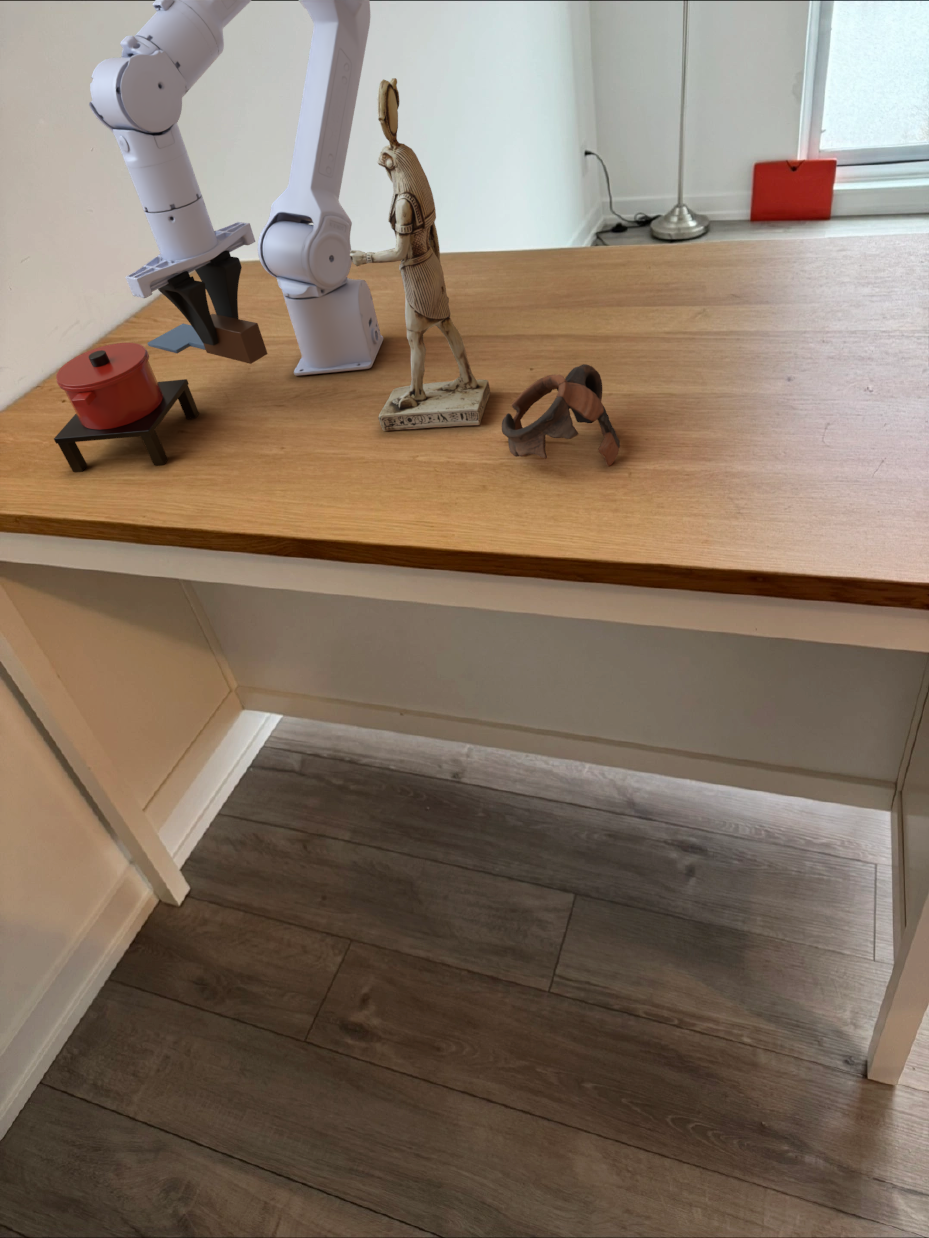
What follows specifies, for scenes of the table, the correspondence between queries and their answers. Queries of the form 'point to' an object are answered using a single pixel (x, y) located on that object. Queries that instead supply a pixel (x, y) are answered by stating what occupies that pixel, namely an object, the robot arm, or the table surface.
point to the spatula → (233, 339)
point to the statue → (420, 290)
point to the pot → (117, 400)
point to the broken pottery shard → (561, 413)
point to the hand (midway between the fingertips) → (221, 336)
